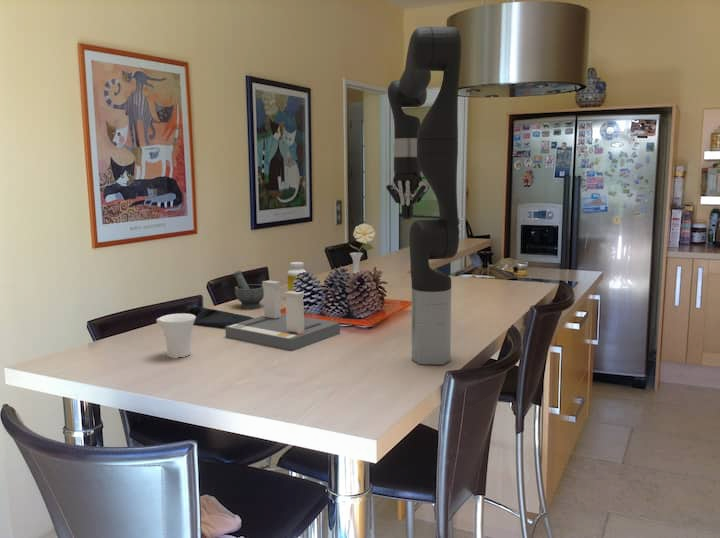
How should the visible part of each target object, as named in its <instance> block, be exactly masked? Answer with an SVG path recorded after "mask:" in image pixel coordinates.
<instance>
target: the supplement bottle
mask: <svg viewBox="0 0 720 538" xmlns="http://www.w3.org/2000/svg"><path fill="white" fill-rule="evenodd" d="M289 266H290V269H289V270H288V271H287V292H288V291H293V281H294V279H295V278H296V276H297V275H298V274H299V273H303V272H307V271H306V270H305V269H304V266H305V263H304V262H302V261H293V262H290V264H289Z"/></svg>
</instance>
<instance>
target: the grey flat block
mask: <svg viewBox="0 0 720 538" xmlns="http://www.w3.org/2000/svg"><path fill="white" fill-rule="evenodd" d="M280 313H281V312H280ZM253 318H254V319H250V320H247V321H243V322H240V323H236V324H233V325H229V326H226V327H224V328H225V329H224V330H225V338H229V339H231V340H232V339H233V340H238V341H242V342H246V343H251V344H257V345H260V346H267V347H272V348H276V349H281V350H286V351H289V352H290V351H293V352H294V351H295V350H299V349H301V348H305V347H306V346H309V345H311V344H315V343H318V342H320V341H323V340H326V339H328V338H331V337H333V336H337V335H340V334H341V325H340V324H341V323H340V322H336V321H331V320H325V319H321V318H320V319H318V318H314V317H313V318H311V317H306V316H304V331H302V332H299V333H296V332H291V331H287V326H286V313H281V317H278V318H269V317H265V314H264V315H261V316H258V317H253Z"/></svg>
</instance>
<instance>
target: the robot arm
mask: <svg viewBox="0 0 720 538" xmlns="http://www.w3.org/2000/svg"><path fill="white" fill-rule="evenodd" d="M461 61H462V37H461V33H460V30H459V29H458V28H457V27H456V26H455V27H454V26H419V27H417V28H415V29H414V30H413V32H412V33H411V36H410V39H409V44H408V47H407V53H406V59H405V66H404V71H403V73H402V75H401V77H400V79H399V80H398V79H395V80H392V81H391V82H390V84H389V86H388V87H387V97H388V98H387V99H388V102H389V105H390V108H391V111H392V117H393V123H394V125H393V127H394V136H393V137H394V142H393V143H394V144H393V173H394V175H393V178H392V181H391V183H390V184H387V185H386V189H387V191H388V193H389V195H390V196H391V197H392V199H393V201H394V202H395V203H396V204H399V205H401V216H402V218H403V220H411V219H412V218H413V217H414V205H416V204H419V203H420V202H421V201H422V199H423V197H424V196H425V195H426V193H427V192H428V191H429V189H430V188H431V189H432V191H433V193H434V195H435V199H436V201H437V204H438V211H439V219H438V218H437V219H436V218H435V219H417V220H414V221H413V222H412V223H411V225H410V228H409V234H408V235H409V236H408V239H409V240H408V241H409V243H408V244H409V262H410V280H411V360H412V361H413V362H415V363H417V364H418V365H441V366H442V365H446V363H449V362H450V361H451V360H452V359H451V354H452V352H451V349H452V348H451V347H452V346H451V345H452V343H451V342H452V337H451V335H452V331H451V330H452V326H451V325H452V277H451V276H449V275H448V274H446V273H443V272H441V271H440V272H439V271H437V270H434V269H432V268H431V266H430V261H429V260H442V259H443V260H445V259H446V260H447V259H452V258H454V257H455V256H456V255H457V253H458V250H459V244H460V227H459V225H460V224H459V210H458V192H457V191H458V190H457V189H458V188H457V185H458V184H457V183H458V182H457V181H458V158H459V155H458V154H459V130H458V129H459V126H458V124H459V123H458V122H459V121H458V119H459V117H458V113H459V108H458V105H459V104H458V103H459V102H458V101H459V89H460V88H459V86H460V75H461V64H462V63H461ZM431 72H443V75H442V76H443V77H442V81H441V86H440V89H439V92H438V94H437V95H436V98H435V100H434V102H433V103H432V105H431V107H430V108H429V109H428V111H427V113H426V115H425V116H424V118H423V119H422V121H421V119H420V118H419V117H417V116H415V115H414V116H413V115H410V114H407V113H405V112H404V110H403V108H419V107H422V106H424V104H425V103H426V101H427V98H428V97H427V96H428V92H427V91H428V90H427V88H428V87H429V85H430V83H431V79H432V73H431ZM421 173H422V175H423V177H424V178H425V180H426V181H427V183H428V184H425V182H423V178H422V176H421ZM417 190H418V191H417Z"/></svg>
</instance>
